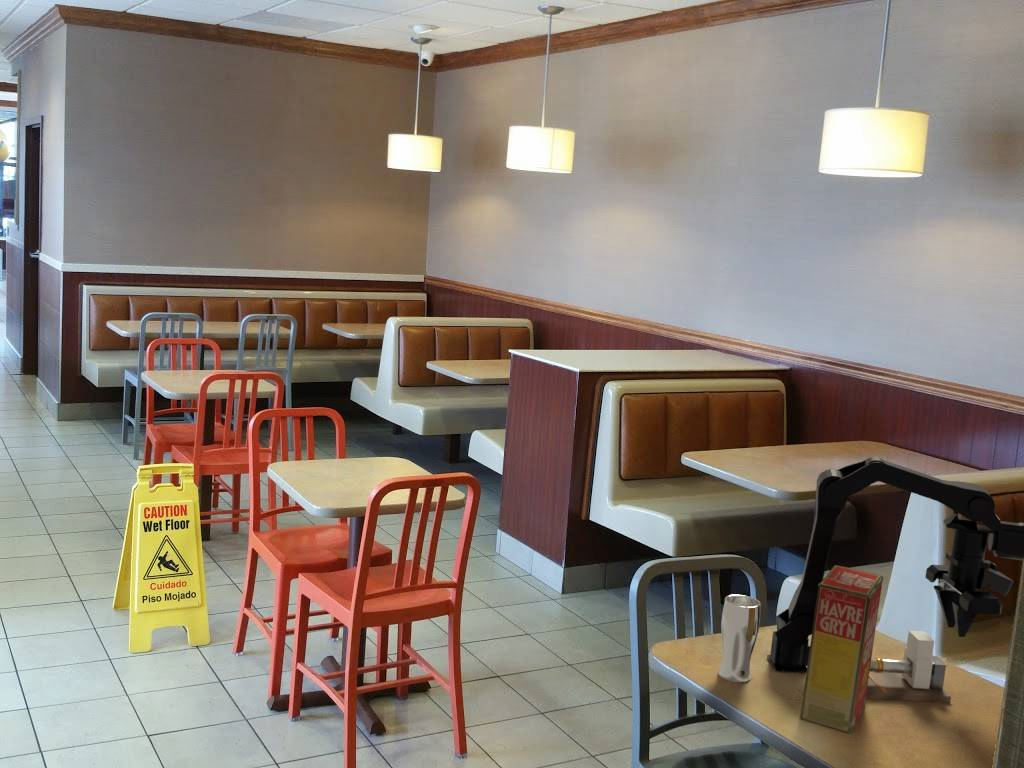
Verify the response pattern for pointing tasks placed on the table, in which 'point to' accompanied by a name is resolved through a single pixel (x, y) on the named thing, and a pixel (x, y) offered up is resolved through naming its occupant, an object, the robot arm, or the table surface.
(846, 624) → the food packaging
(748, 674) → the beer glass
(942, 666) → the grey metal peg
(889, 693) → the base board
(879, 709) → the table surface
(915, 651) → the collar
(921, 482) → the robot arm
